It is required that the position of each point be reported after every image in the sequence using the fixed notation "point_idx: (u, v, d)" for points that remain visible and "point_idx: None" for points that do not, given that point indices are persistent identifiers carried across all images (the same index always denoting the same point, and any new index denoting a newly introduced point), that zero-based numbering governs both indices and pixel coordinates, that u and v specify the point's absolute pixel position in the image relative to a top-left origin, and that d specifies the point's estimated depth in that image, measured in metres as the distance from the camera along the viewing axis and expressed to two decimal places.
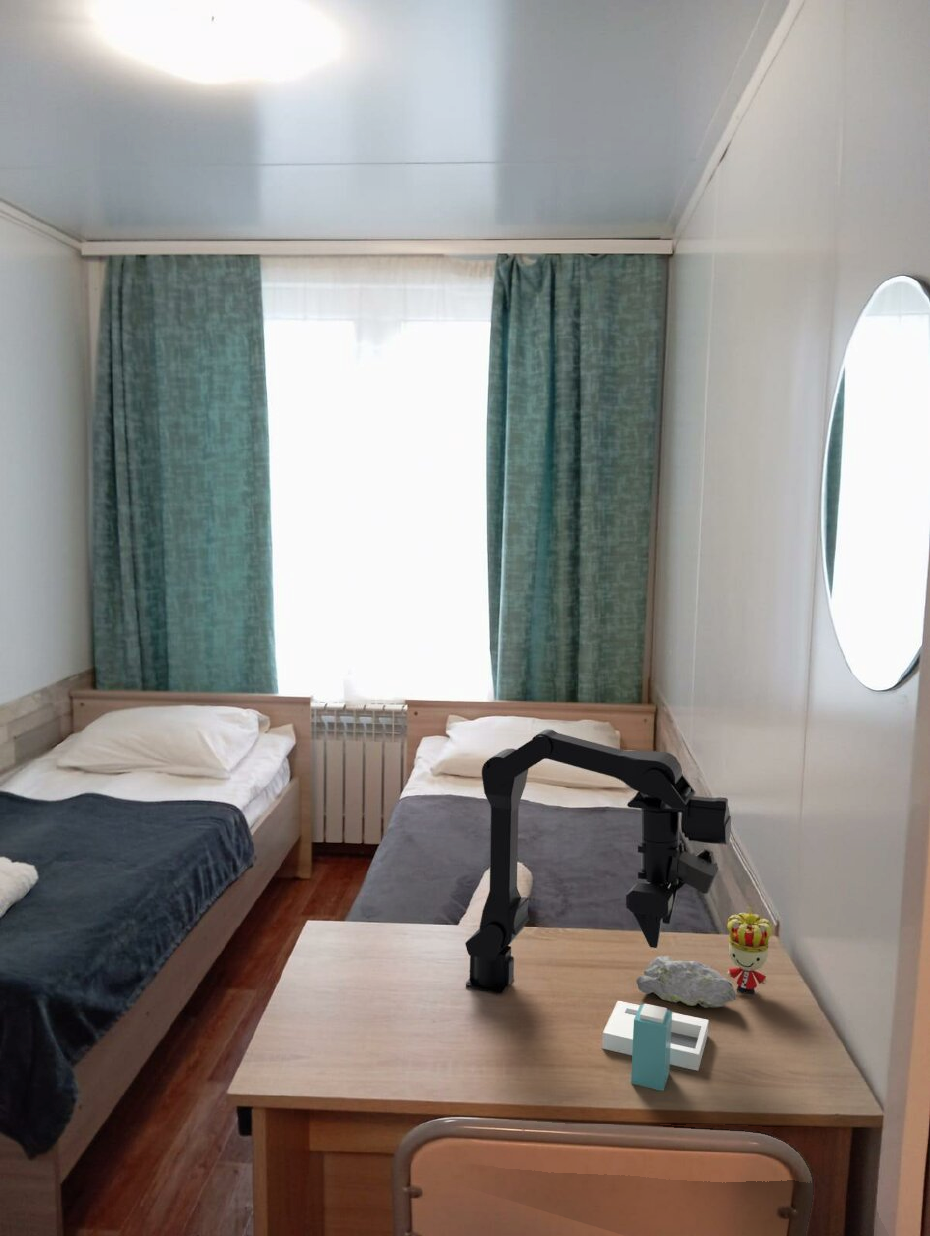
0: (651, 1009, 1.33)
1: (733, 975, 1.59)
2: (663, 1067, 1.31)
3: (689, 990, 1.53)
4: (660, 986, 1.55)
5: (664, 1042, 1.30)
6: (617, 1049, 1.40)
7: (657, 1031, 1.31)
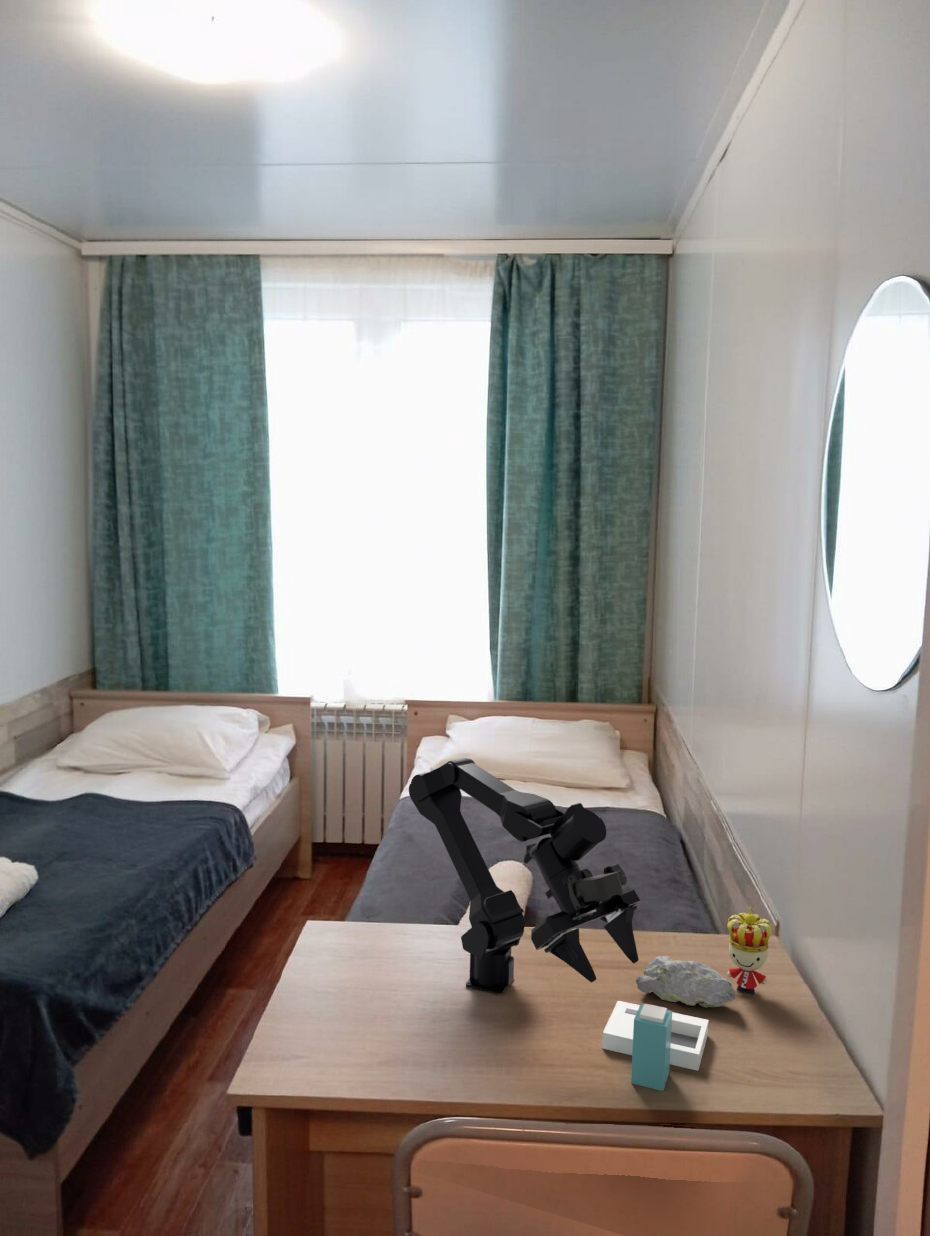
0: (651, 1009, 1.33)
1: (733, 975, 1.59)
2: (663, 1067, 1.31)
3: (688, 990, 1.53)
4: (659, 986, 1.55)
5: (664, 1042, 1.30)
6: (617, 1049, 1.40)
7: (657, 1031, 1.31)
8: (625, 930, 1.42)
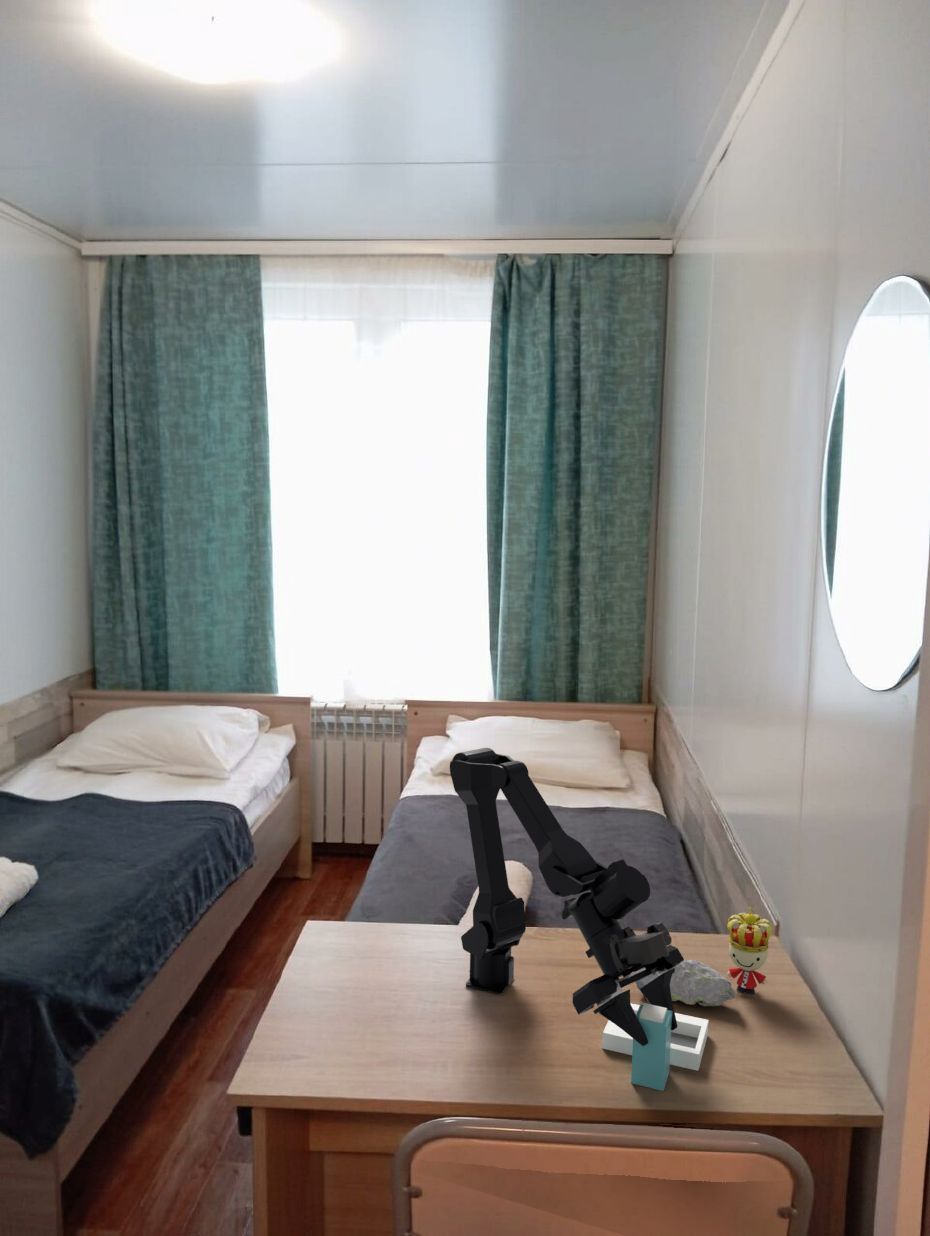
0: (651, 1009, 1.33)
1: (733, 975, 1.59)
2: (663, 1067, 1.31)
3: (688, 989, 1.53)
4: None
5: (664, 1042, 1.30)
6: (617, 1049, 1.40)
7: (657, 1031, 1.31)
8: (663, 995, 1.36)
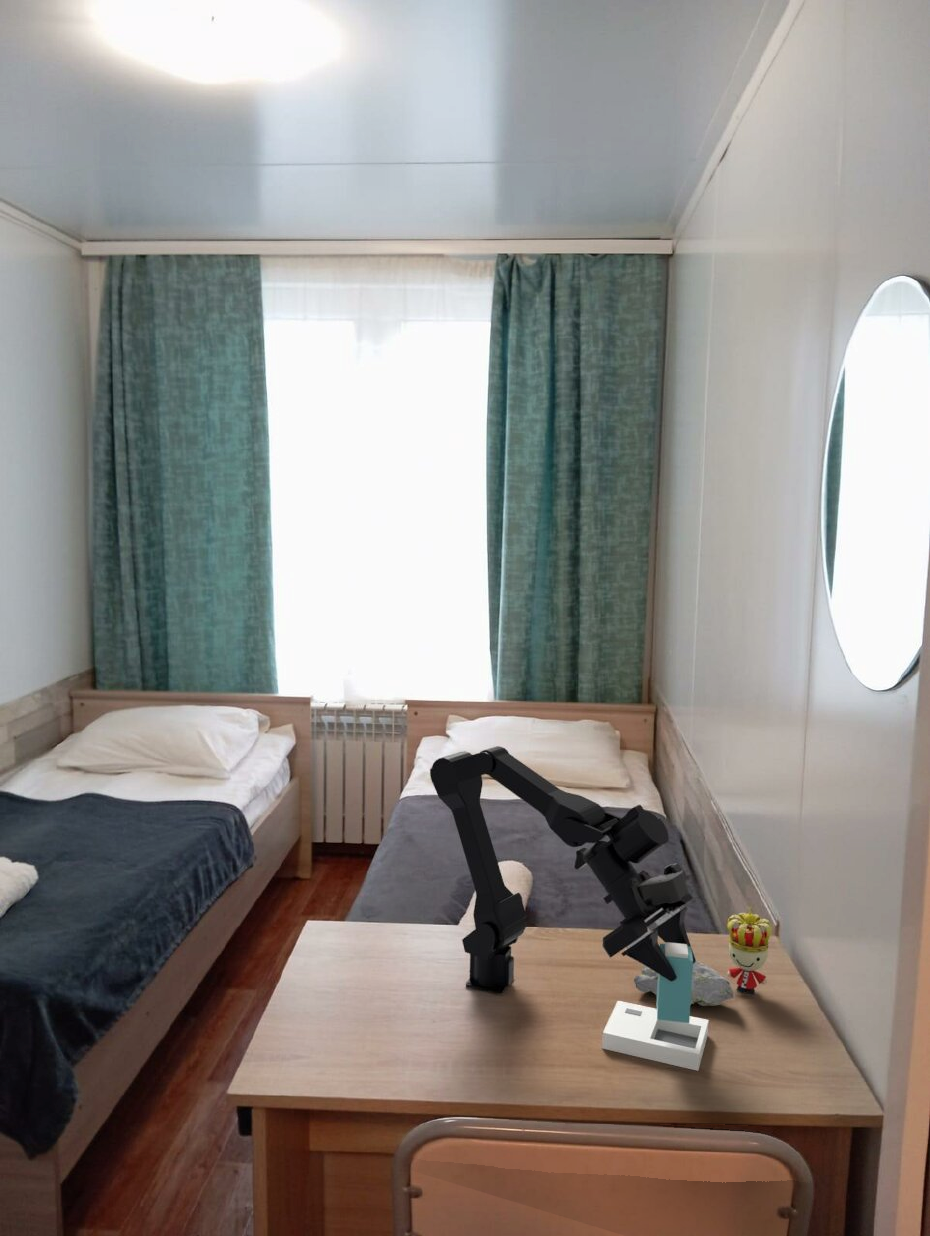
0: (673, 946, 1.38)
1: (733, 975, 1.59)
2: (689, 1000, 1.36)
3: None
4: None
5: (690, 976, 1.36)
6: (617, 1049, 1.40)
7: (683, 966, 1.36)
8: (680, 932, 1.41)
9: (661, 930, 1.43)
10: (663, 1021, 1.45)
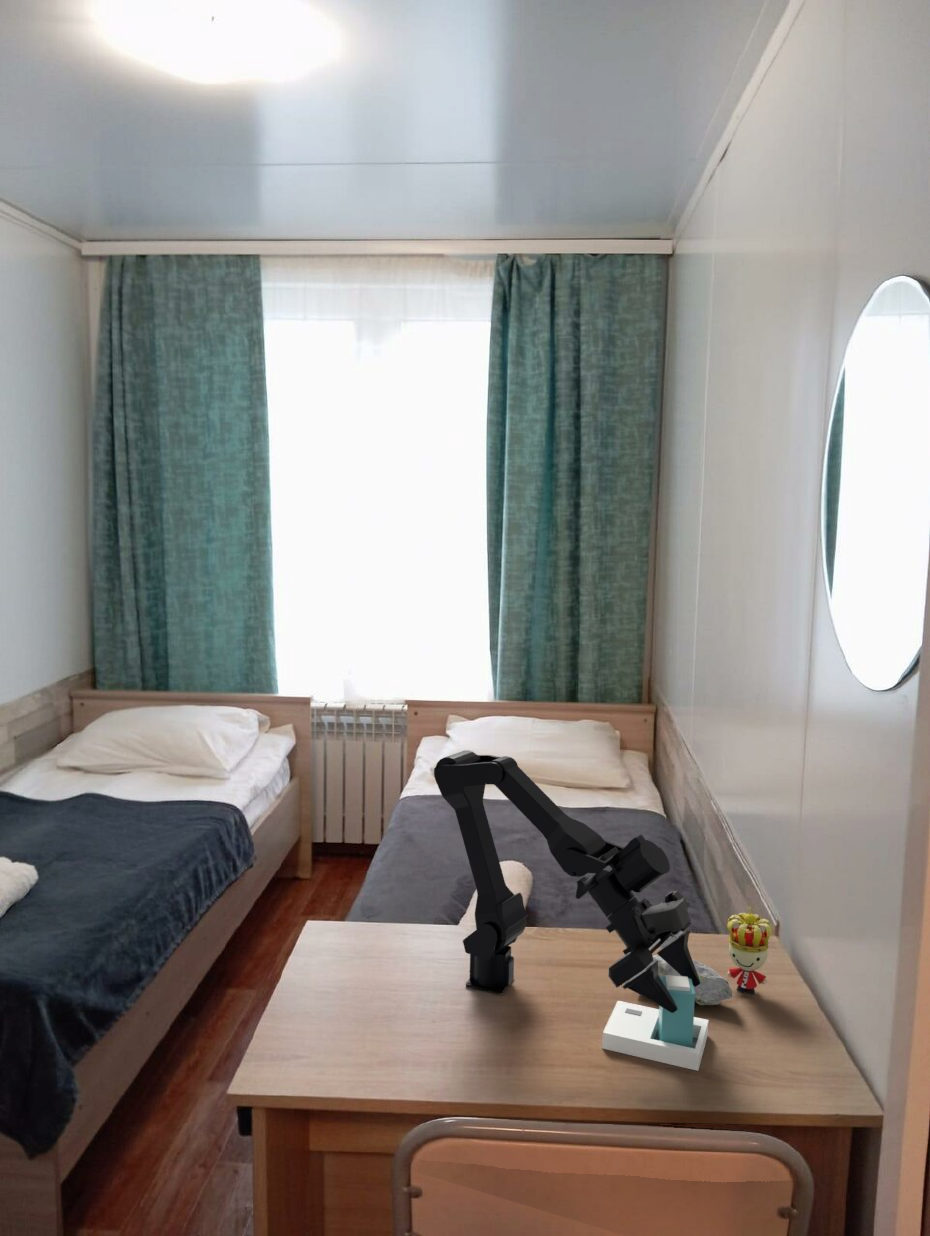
0: (675, 979, 1.41)
1: (733, 975, 1.59)
2: (691, 1032, 1.39)
3: None
4: None
5: (692, 1008, 1.38)
6: (617, 1049, 1.40)
7: (686, 999, 1.38)
8: (684, 955, 1.45)
9: (665, 953, 1.47)
10: None
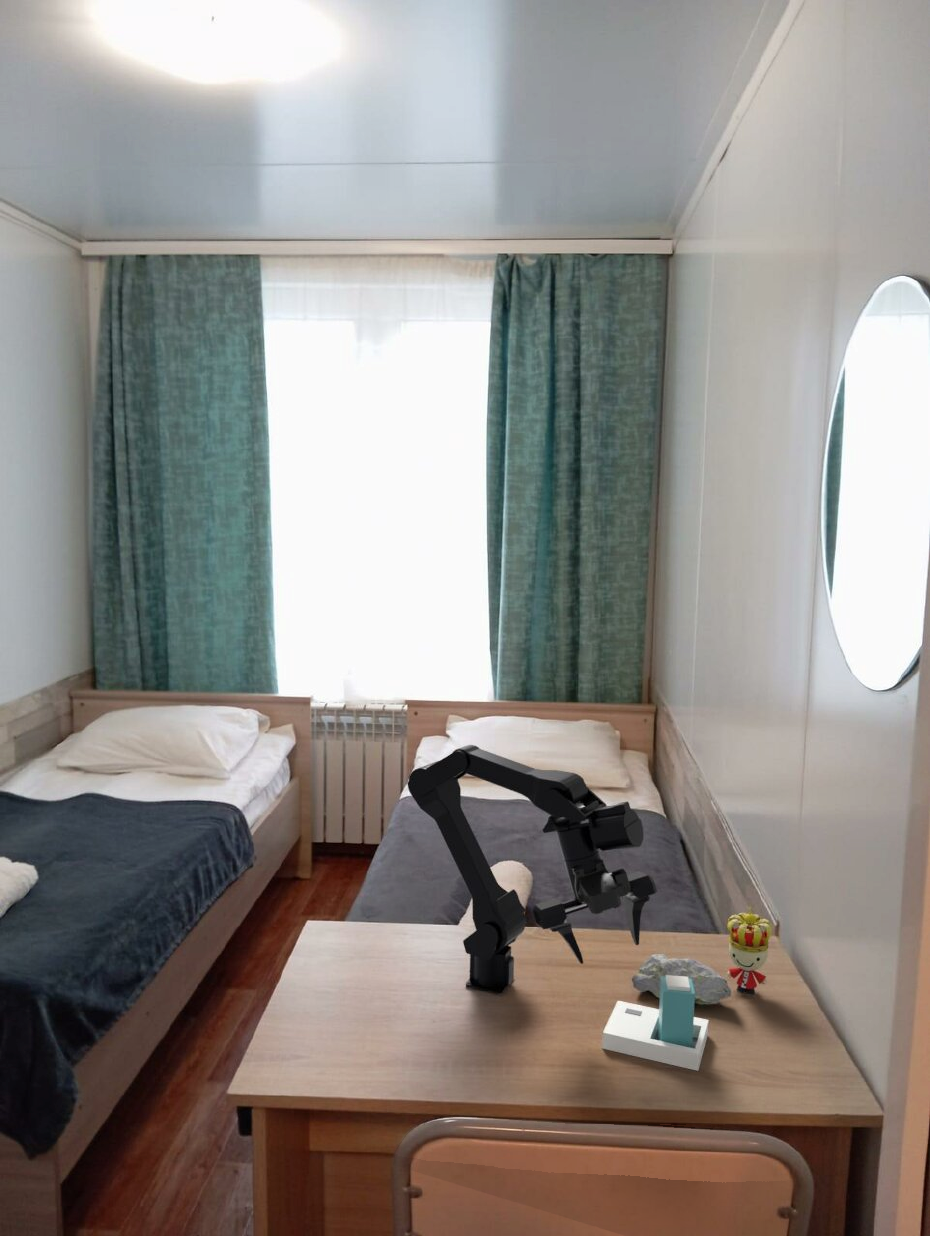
0: (675, 979, 1.41)
1: (733, 975, 1.59)
2: (691, 1032, 1.39)
3: None
4: (655, 984, 1.56)
5: (692, 1008, 1.38)
6: (617, 1049, 1.40)
7: (686, 999, 1.38)
8: (632, 916, 1.47)
9: (625, 902, 1.50)
10: None
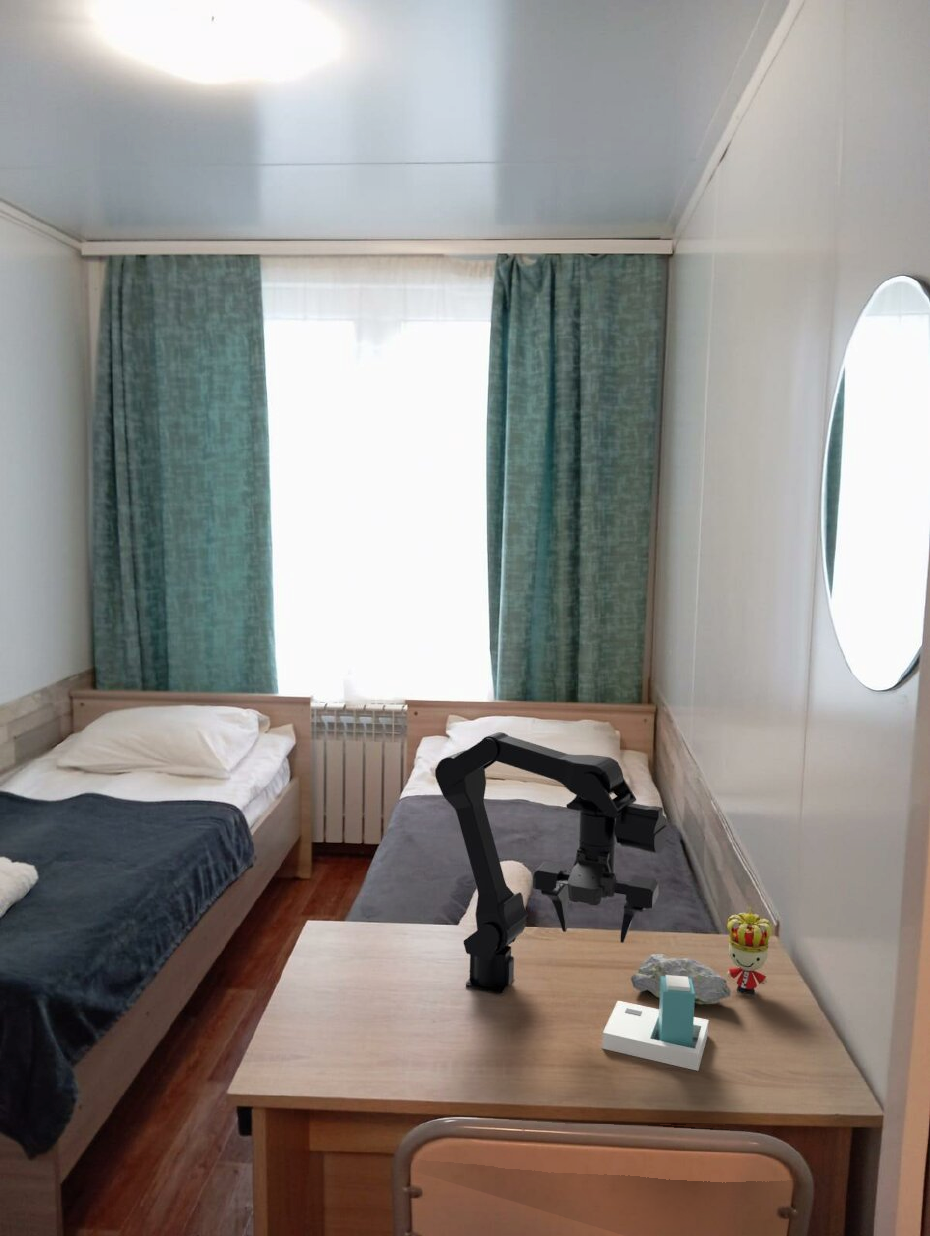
0: (675, 979, 1.41)
1: (733, 975, 1.59)
2: (691, 1032, 1.39)
3: None
4: (655, 984, 1.56)
5: (692, 1008, 1.38)
6: (617, 1049, 1.40)
7: (686, 999, 1.38)
8: None
9: None
10: None
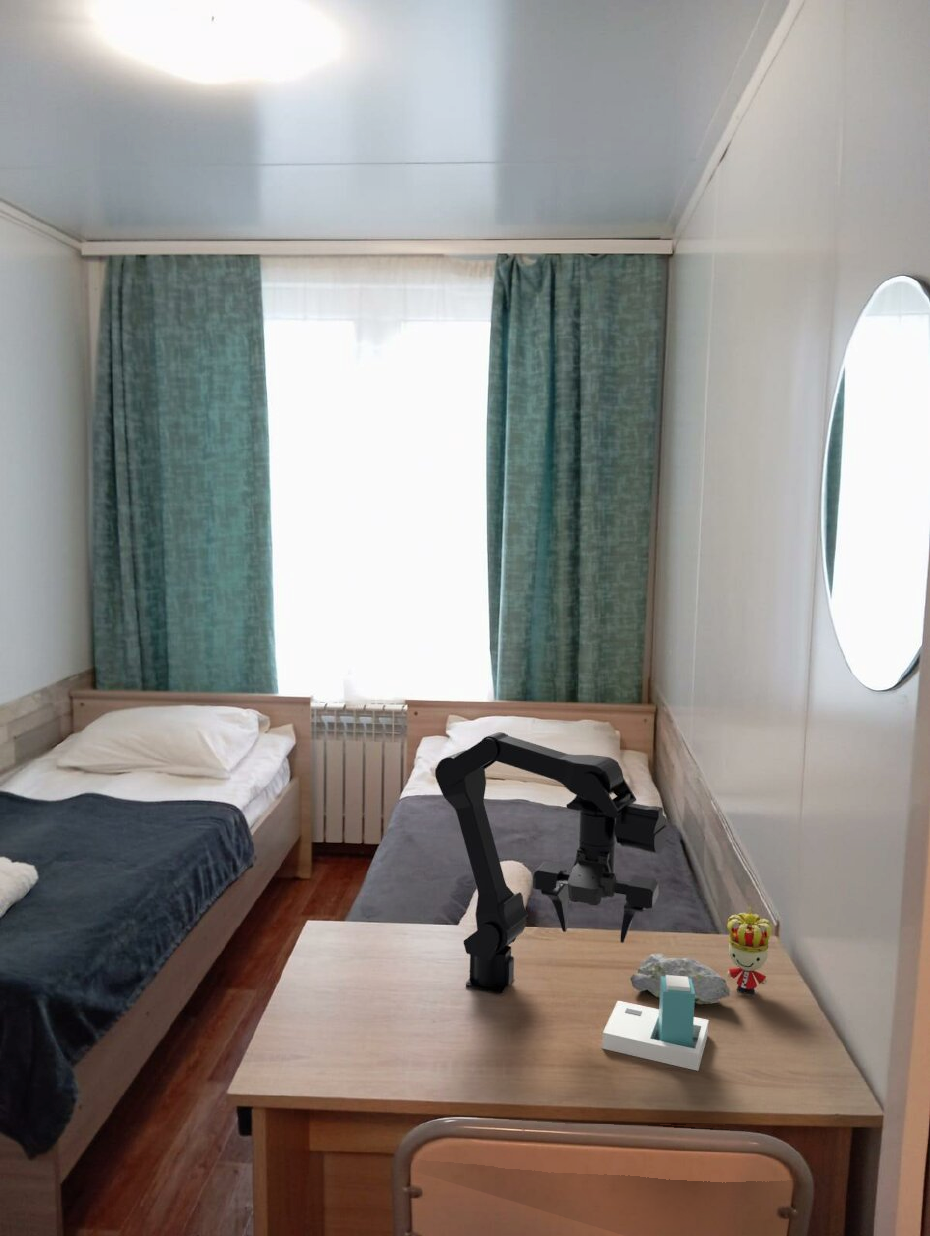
0: (675, 979, 1.41)
1: (733, 975, 1.59)
2: (691, 1032, 1.39)
3: None
4: (654, 983, 1.56)
5: (692, 1008, 1.38)
6: (617, 1049, 1.40)
7: (686, 999, 1.38)
8: None
9: None
10: None
